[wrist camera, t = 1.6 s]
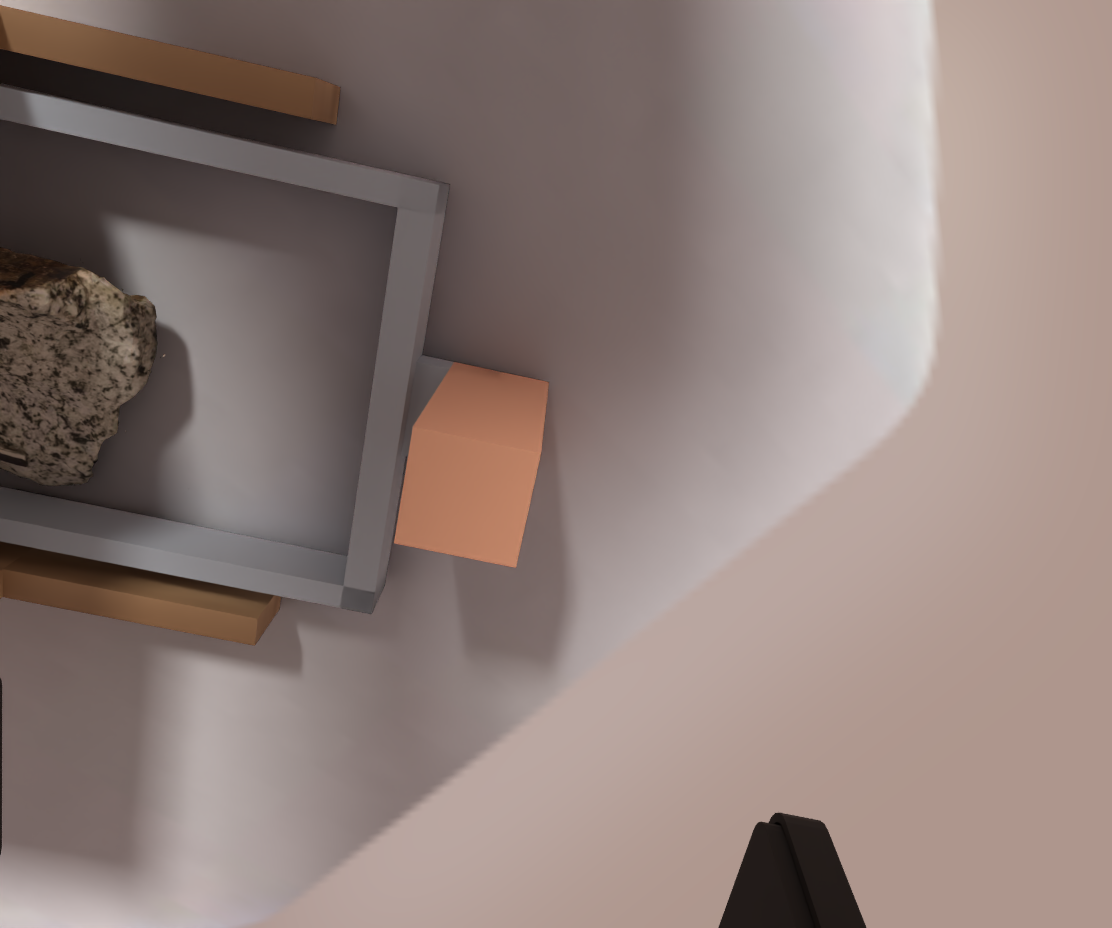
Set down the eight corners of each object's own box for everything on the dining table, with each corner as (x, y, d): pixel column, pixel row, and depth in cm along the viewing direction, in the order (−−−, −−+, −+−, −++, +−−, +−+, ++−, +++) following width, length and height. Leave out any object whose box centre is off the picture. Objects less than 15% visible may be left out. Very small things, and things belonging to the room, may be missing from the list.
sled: (-264, 24, 23) (-605, -38, 16) (585, 214, 24) (590, 229, 17) (-219, 464, 27) (-474, 558, 20) (500, 607, 28) (478, 738, 22)
